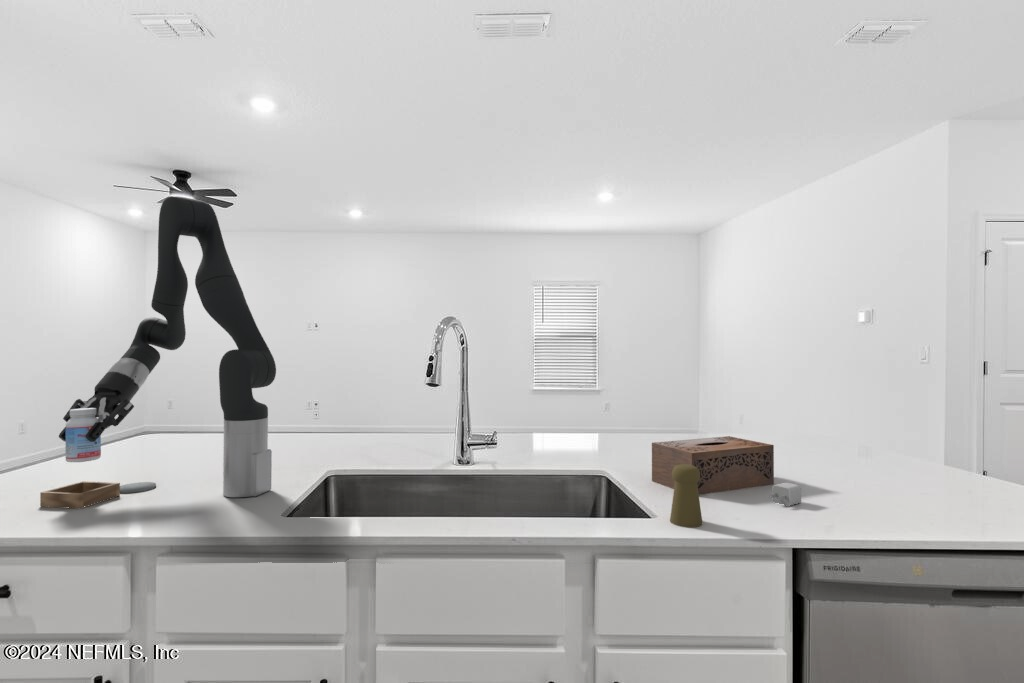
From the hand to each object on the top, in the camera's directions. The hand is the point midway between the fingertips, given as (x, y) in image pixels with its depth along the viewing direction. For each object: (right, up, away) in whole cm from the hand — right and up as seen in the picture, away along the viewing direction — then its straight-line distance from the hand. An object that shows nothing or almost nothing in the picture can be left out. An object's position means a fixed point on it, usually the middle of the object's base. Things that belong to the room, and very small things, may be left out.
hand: (76, 439), depth 117 cm
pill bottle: (0, -5, +2) cm, 5 cm away
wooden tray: (0, -14, +1) cm, 14 cm away
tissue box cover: (+144, -15, +18) cm, 146 cm away
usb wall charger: (+153, -14, 0) cm, 154 cm away
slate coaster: (+5, -14, +12) cm, 19 cm away
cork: (+128, -14, -12) cm, 129 cm away
